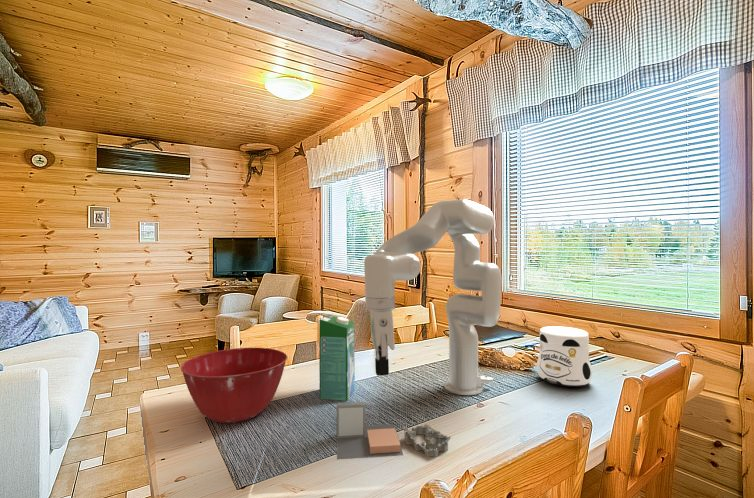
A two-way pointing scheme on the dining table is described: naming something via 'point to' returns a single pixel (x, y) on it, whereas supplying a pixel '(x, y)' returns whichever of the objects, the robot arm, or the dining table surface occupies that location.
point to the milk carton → (336, 358)
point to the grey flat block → (350, 420)
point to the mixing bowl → (234, 382)
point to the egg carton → (427, 440)
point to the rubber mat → (361, 445)
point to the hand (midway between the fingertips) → (382, 373)
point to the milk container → (564, 356)
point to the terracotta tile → (383, 441)
